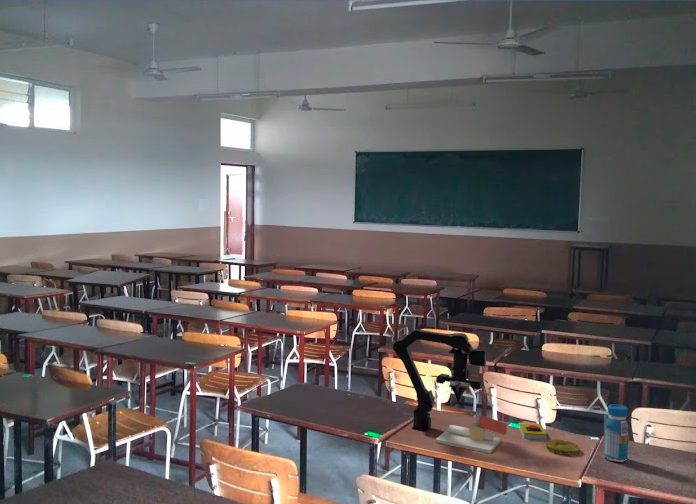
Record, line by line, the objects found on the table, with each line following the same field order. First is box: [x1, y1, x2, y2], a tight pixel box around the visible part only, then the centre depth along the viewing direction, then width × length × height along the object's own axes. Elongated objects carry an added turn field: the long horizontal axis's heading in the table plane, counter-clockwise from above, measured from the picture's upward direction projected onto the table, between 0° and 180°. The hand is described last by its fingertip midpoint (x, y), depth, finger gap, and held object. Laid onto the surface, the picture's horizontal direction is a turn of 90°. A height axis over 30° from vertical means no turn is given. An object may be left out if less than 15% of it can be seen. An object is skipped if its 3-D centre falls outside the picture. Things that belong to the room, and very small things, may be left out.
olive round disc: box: [545, 439, 580, 457], centre depth 243 cm, size 12×12×2 cm
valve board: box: [435, 422, 502, 454], centre depth 249 cm, size 22×15×6 cm
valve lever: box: [475, 413, 508, 436], centre depth 245 cm, size 14×2×4 cm, turn 38°
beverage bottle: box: [603, 403, 630, 460], centre depth 234 cm, size 8×8×20 cm
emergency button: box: [518, 423, 548, 443], centre depth 259 cm, size 9×4×15 cm
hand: (459, 401), depth 259 cm, fingers closed
